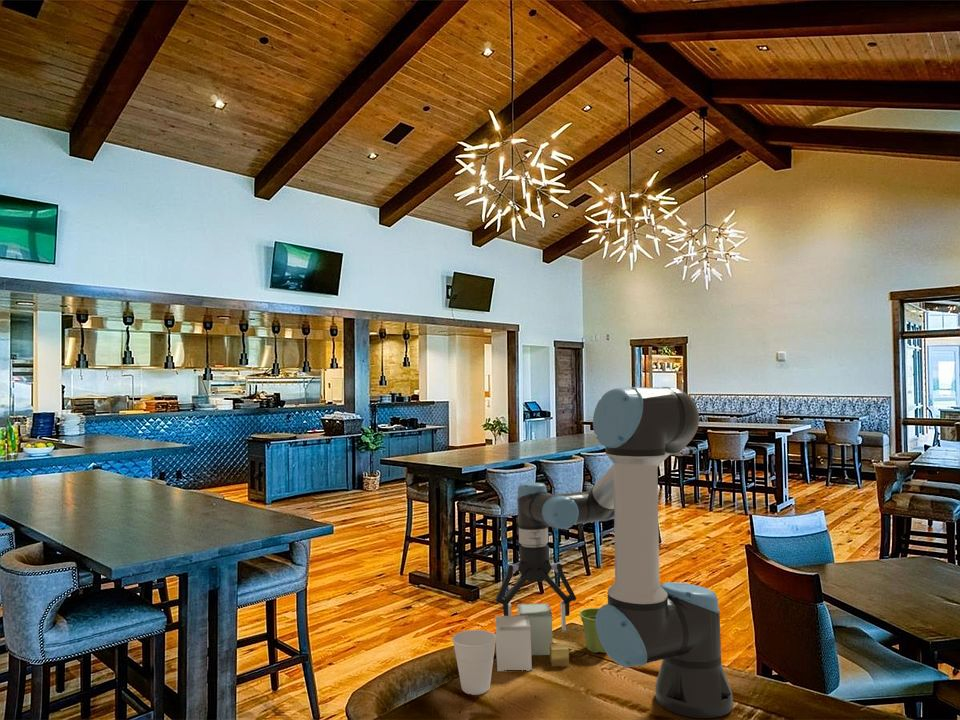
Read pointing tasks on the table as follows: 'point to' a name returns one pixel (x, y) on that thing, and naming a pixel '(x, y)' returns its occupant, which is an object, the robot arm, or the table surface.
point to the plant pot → (591, 630)
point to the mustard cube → (559, 654)
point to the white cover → (513, 643)
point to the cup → (475, 659)
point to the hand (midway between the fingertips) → (537, 630)
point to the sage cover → (539, 626)
